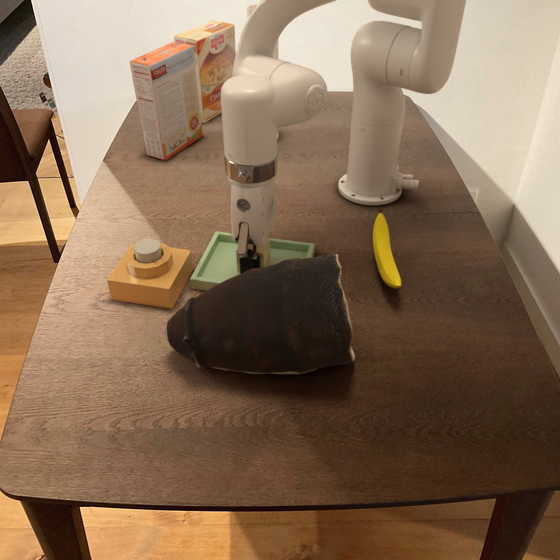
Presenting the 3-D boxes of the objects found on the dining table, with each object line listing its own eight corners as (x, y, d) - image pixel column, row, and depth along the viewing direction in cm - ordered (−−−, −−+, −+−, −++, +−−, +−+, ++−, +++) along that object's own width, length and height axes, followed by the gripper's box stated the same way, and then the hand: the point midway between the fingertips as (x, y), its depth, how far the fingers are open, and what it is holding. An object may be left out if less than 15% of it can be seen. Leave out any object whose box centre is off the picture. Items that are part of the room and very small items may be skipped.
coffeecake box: (204, 124, 140) (197, 40, 128) (181, 117, 143) (172, 35, 130) (239, 103, 150) (235, 23, 137) (217, 97, 153) (211, 19, 140)
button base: (193, 269, 96) (190, 239, 92) (172, 309, 88) (167, 278, 84) (137, 261, 98) (131, 232, 94) (111, 299, 90) (104, 269, 86)
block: (270, 259, 96) (270, 237, 94) (264, 276, 93) (263, 253, 90) (244, 256, 97) (243, 234, 94) (237, 272, 94) (235, 250, 91)
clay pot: (151, 260, 78) (333, 226, 76) (185, 328, 89) (345, 301, 87) (140, 348, 68) (350, 312, 66) (180, 413, 79) (361, 384, 77)
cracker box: (183, 131, 137) (173, 40, 123) (204, 137, 134) (195, 44, 121) (143, 155, 127) (127, 59, 114) (165, 162, 125) (151, 64, 112)
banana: (384, 311, 88) (389, 278, 84) (368, 238, 103) (371, 208, 98) (403, 310, 88) (409, 278, 84) (384, 238, 103) (388, 208, 99)
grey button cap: (165, 250, 91) (164, 239, 89) (156, 265, 88) (154, 255, 86) (142, 247, 91) (140, 236, 90) (131, 262, 88) (129, 251, 87)
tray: (314, 252, 99) (314, 243, 98) (299, 304, 89) (299, 294, 88) (216, 240, 102) (215, 230, 101) (191, 288, 92) (189, 278, 91)
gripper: (262, 197, 76) (264, 301, 88) (288, 142, 89) (287, 239, 101) (208, 191, 78) (217, 294, 89) (241, 137, 90) (245, 234, 102)
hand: (254, 264), depth 95 cm, fingers closed on block, 4 cm apart
